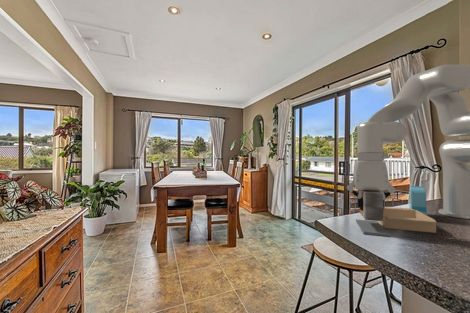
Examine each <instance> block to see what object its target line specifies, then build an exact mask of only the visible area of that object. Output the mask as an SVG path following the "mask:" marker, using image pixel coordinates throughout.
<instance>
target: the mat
mask: <svg viewBox="0 0 470 313" xmlns="http://www.w3.org/2000/svg"><path fill="white" fill-rule="evenodd" d="M355 223H356V224H357V226H358V227H359V229H360V230H361V232H362V234H363V235H370V236H379V237H387V238H388V237H390V233H389V232H388V231H387V229H386V228H384V227H383V226H382V225H381V224H380V223H379V222H378V221H372V220H365V219H357V218H355Z"/></svg>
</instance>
